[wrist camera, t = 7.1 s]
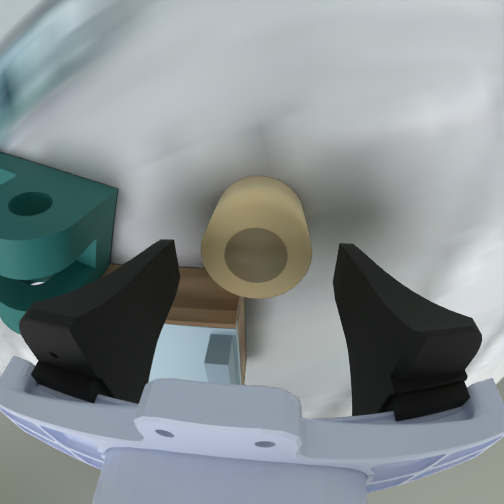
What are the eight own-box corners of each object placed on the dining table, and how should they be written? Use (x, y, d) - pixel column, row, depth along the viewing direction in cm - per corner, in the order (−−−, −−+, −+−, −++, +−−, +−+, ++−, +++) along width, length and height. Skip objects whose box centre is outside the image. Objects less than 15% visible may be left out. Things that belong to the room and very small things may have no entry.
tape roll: (300, 256, 18) (306, 301, 14) (218, 254, 18) (205, 298, 14) (306, 176, 15) (317, 207, 11) (213, 175, 15) (194, 204, 12)
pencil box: (246, 357, 23) (241, 407, 19) (99, 341, 24) (80, 379, 20) (243, 269, 18) (235, 324, 14) (64, 261, 19) (31, 300, 15)
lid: (242, 392, 19) (239, 424, 17) (90, 370, 20) (79, 394, 18) (237, 319, 15) (231, 359, 13) (51, 300, 16) (32, 327, 14)
